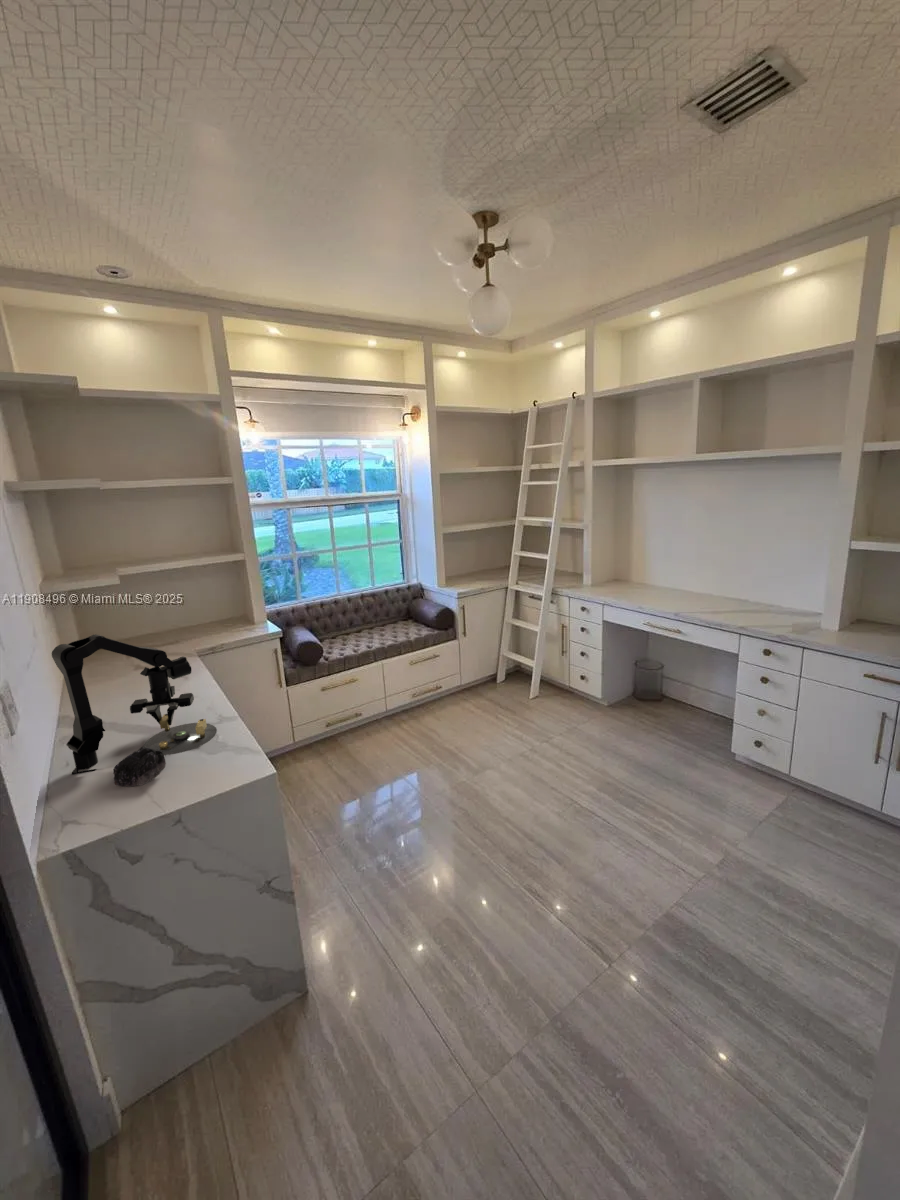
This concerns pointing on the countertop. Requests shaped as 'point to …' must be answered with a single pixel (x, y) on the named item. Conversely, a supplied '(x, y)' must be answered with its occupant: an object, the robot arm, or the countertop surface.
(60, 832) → the countertop surface
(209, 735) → the levelling plate
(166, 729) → the knob far
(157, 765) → the crystal cluster
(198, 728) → the knob near
